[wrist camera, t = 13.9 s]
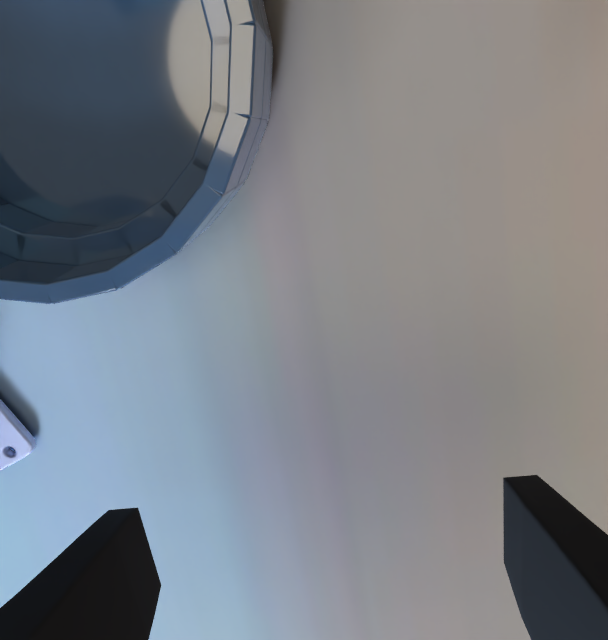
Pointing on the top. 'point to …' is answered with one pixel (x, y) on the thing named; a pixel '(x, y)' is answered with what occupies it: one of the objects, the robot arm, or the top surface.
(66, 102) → the bowl
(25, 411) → the top surface
